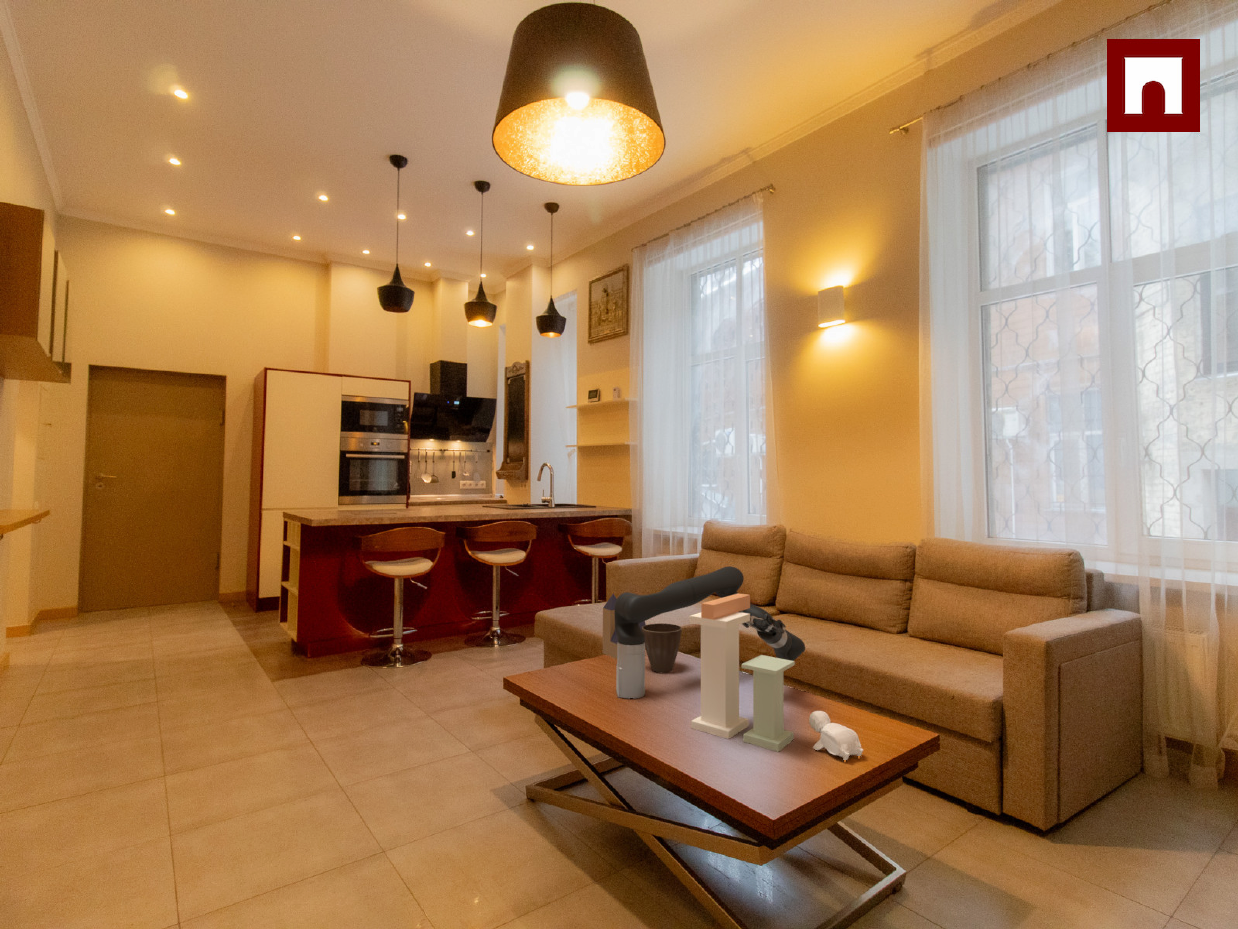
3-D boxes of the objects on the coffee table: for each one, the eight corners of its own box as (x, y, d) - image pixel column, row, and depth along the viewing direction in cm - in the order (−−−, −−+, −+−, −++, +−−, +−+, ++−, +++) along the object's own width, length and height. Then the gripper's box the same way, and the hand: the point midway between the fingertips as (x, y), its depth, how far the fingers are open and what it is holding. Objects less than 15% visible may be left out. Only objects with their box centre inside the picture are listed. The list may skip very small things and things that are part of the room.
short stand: (761, 729, 173) (761, 655, 174) (795, 738, 167) (794, 661, 168) (741, 743, 164) (741, 664, 165) (776, 753, 158) (776, 671, 159)
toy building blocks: (602, 653, 253) (603, 592, 255) (640, 647, 263) (640, 589, 264) (617, 660, 243) (618, 597, 244) (656, 654, 252) (656, 593, 253)
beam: (738, 606, 189) (738, 593, 189) (750, 608, 187) (749, 594, 187) (701, 617, 172) (701, 603, 172) (713, 619, 170) (713, 605, 170)
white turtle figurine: (860, 767, 157) (819, 726, 169) (870, 741, 154) (828, 701, 167) (836, 774, 153) (796, 732, 165) (845, 747, 150) (804, 706, 163)
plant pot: (641, 676, 223) (642, 631, 223) (641, 664, 238) (642, 623, 238) (682, 676, 222) (682, 632, 223) (680, 665, 237) (680, 623, 238)
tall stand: (714, 715, 184) (713, 608, 185) (750, 725, 177) (749, 613, 178) (689, 729, 173) (689, 615, 175) (726, 740, 166) (726, 621, 167)
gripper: (755, 619, 209) (735, 601, 199) (795, 625, 200) (776, 606, 190) (750, 640, 206) (730, 623, 195) (790, 647, 197) (771, 630, 186)
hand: (753, 615), depth 193 cm, fingers open, 8 cm apart
